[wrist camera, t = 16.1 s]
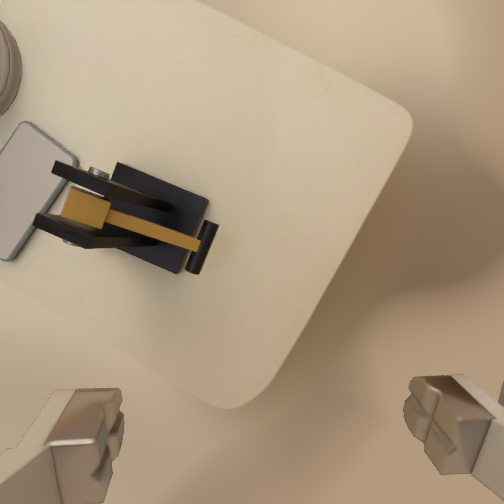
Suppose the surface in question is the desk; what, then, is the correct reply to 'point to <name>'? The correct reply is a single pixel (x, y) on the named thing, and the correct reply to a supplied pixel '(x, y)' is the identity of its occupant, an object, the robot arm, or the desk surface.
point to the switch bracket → (134, 203)
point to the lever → (137, 225)
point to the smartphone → (27, 184)
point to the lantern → (8, 68)
